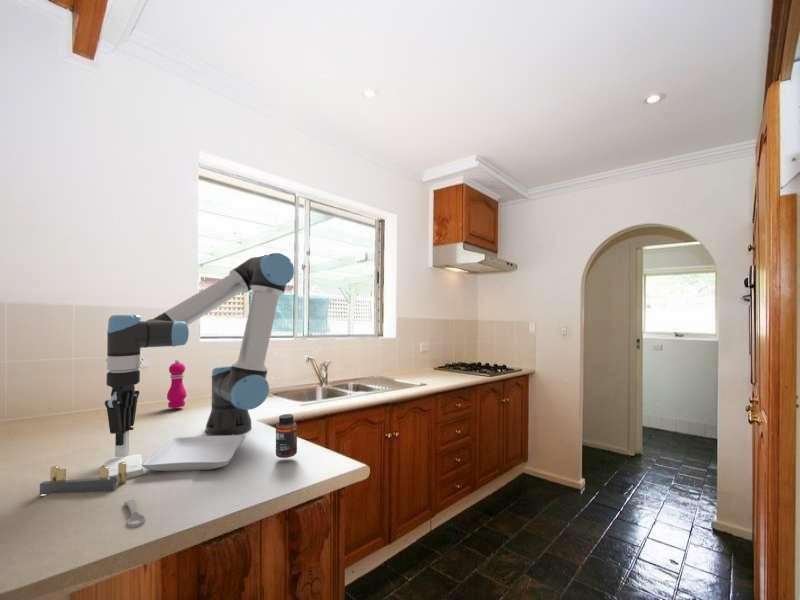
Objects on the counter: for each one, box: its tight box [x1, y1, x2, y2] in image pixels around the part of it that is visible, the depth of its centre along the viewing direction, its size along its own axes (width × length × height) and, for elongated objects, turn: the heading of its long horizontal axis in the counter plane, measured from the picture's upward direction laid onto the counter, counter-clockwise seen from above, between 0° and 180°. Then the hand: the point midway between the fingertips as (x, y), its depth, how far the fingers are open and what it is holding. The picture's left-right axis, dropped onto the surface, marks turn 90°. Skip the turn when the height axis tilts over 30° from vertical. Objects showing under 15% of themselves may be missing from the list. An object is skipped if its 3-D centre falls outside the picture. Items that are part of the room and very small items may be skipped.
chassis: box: [39, 462, 127, 496], centre depth 90 cm, size 16×5×5 cm, turn 99°
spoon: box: [124, 498, 146, 528], centre depth 79 cm, size 3×12×2 cm, turn 41°
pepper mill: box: [166, 358, 187, 409], centre depth 165 cm, size 7×7×20 cm
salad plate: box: [142, 434, 247, 472], centre depth 109 cm, size 21×21×3 cm
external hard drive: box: [103, 453, 144, 481], centre depth 101 cm, size 2×8×12 cm
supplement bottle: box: [275, 413, 298, 459], centre depth 112 cm, size 6×6×11 cm
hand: (121, 455), depth 107 cm, fingers closed
